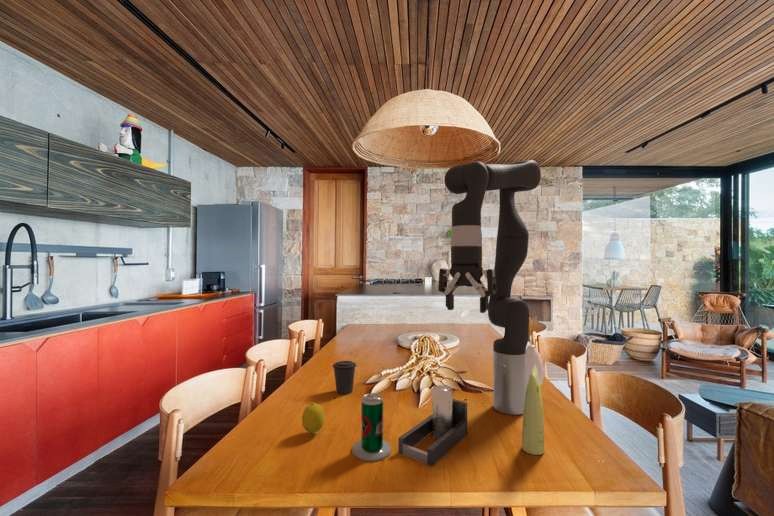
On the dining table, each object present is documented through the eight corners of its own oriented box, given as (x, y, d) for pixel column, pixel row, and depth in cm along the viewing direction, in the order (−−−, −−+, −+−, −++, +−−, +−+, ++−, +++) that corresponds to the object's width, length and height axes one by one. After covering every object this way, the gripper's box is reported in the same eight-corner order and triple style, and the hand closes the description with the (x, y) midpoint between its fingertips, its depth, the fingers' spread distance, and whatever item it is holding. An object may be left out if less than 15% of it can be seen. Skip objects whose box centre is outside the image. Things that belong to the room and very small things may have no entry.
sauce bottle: (515, 389, 122) (514, 337, 122) (525, 384, 127) (525, 334, 127) (537, 396, 116) (537, 341, 116) (547, 390, 121) (547, 337, 121)
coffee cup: (361, 390, 121) (361, 361, 121) (346, 398, 114) (346, 367, 114) (342, 385, 125) (342, 357, 125) (327, 393, 118) (327, 363, 119)
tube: (551, 455, 81) (551, 370, 81) (531, 458, 79) (531, 371, 80) (535, 443, 86) (535, 362, 86) (517, 445, 85) (516, 364, 85)
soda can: (380, 454, 80) (380, 401, 80) (358, 452, 81) (358, 399, 81) (385, 443, 85) (385, 393, 85) (364, 441, 86) (364, 391, 86)
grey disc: (369, 437, 89) (369, 434, 89) (398, 448, 84) (398, 446, 84) (344, 452, 82) (344, 449, 82) (374, 466, 76) (374, 463, 76)
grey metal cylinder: (438, 429, 93) (438, 383, 93) (456, 435, 90) (456, 388, 90) (428, 437, 89) (428, 389, 89) (446, 443, 86) (446, 394, 86)
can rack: (436, 424, 96) (436, 394, 96) (467, 433, 91) (467, 402, 91) (398, 452, 82) (398, 418, 82) (432, 466, 76) (432, 429, 76)
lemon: (327, 430, 92) (328, 400, 92) (316, 441, 87) (317, 408, 87) (309, 427, 94) (309, 397, 94) (297, 437, 89) (297, 405, 89)
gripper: (500, 244, 86) (500, 311, 85) (447, 246, 94) (447, 307, 94) (488, 243, 80) (488, 315, 79) (433, 245, 88) (433, 310, 88)
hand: (466, 311), depth 87 cm, fingers open, 8 cm apart
